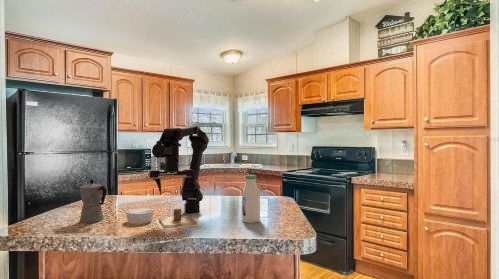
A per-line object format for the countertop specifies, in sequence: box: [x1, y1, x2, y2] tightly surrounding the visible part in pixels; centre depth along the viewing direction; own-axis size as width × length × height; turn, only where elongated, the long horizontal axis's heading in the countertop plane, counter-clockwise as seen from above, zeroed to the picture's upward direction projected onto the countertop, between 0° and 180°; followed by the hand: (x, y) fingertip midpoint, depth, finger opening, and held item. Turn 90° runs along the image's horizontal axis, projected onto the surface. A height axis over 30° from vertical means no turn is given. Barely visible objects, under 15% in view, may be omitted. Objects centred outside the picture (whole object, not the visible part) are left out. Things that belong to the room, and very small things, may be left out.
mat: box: [154, 216, 202, 230], centre depth 130 cm, size 16×16×1 cm
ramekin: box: [125, 207, 154, 225], centre depth 132 cm, size 11×11×5 cm
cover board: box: [158, 208, 198, 228], centre depth 130 cm, size 13×13×6 cm
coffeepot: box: [79, 179, 108, 224], centre depth 136 cm, size 15×9×18 cm, turn 65°
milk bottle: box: [241, 174, 261, 224], centre depth 135 cm, size 8×8×20 cm
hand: (171, 193), depth 133 cm, fingers open, 9 cm apart
